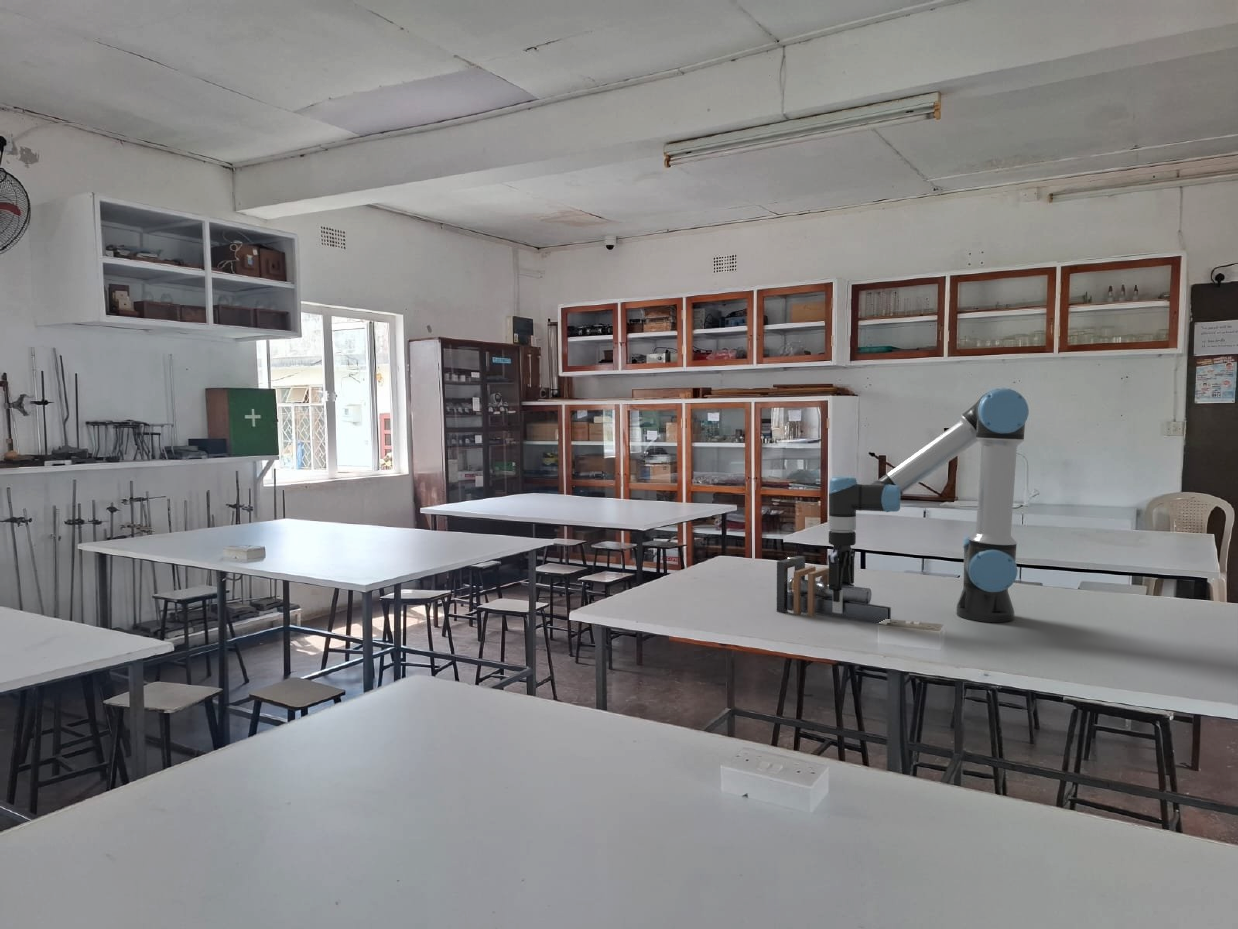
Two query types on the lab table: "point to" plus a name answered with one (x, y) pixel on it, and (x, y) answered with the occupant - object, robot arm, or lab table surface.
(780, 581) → the dark grey u-shaped frame
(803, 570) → the collar
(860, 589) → the tube
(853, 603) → the rail cradle
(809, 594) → the collar
